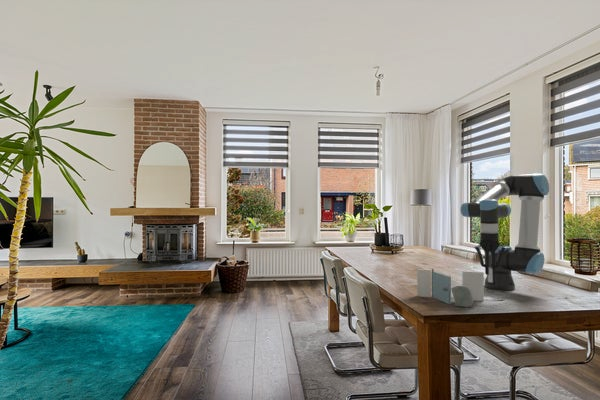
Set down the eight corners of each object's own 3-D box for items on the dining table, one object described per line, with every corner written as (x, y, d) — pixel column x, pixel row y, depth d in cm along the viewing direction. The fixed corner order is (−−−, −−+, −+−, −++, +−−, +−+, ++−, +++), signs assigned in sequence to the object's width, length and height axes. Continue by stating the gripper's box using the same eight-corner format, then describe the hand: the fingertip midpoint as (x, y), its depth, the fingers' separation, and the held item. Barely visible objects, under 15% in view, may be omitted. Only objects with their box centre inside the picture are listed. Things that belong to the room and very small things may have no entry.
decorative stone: (468, 310, 156) (478, 291, 158) (445, 298, 162) (454, 279, 165) (468, 317, 166) (477, 299, 169) (446, 305, 172) (455, 287, 175)
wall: (483, 300, 172) (483, 271, 172) (483, 301, 171) (483, 271, 171) (417, 295, 181) (417, 267, 181) (417, 296, 180) (417, 268, 180)
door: (430, 297, 177) (430, 271, 177) (434, 296, 177) (434, 271, 177) (445, 304, 165) (445, 276, 165) (450, 303, 165) (450, 276, 165)
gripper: (502, 231, 166) (503, 280, 167) (472, 231, 170) (473, 279, 170) (507, 233, 159) (507, 284, 160) (475, 233, 163) (476, 283, 163)
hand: (490, 281), depth 165 cm, fingers closed
